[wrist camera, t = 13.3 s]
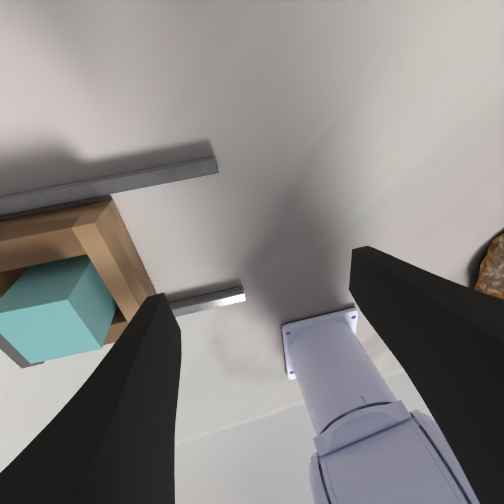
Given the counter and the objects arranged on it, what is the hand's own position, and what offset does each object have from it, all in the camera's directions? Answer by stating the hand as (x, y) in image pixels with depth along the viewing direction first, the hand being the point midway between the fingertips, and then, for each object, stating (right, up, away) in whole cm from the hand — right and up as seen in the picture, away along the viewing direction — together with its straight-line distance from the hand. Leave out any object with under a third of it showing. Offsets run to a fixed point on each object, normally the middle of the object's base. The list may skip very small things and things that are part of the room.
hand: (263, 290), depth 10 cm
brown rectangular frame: (-13, 0, +9) cm, 16 cm away
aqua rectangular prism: (-13, 0, +9) cm, 16 cm away
